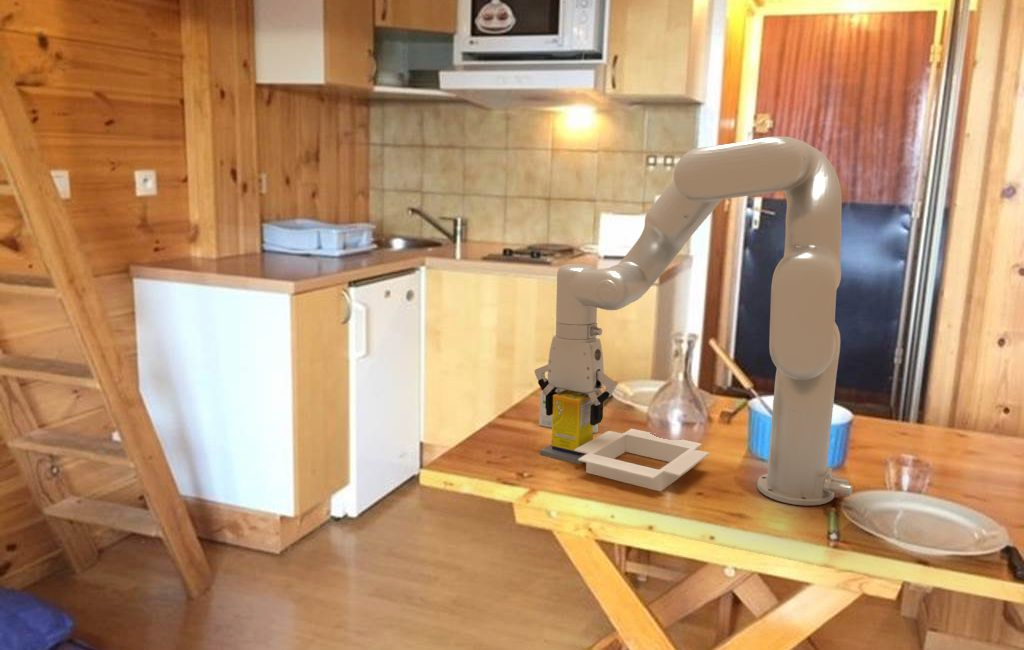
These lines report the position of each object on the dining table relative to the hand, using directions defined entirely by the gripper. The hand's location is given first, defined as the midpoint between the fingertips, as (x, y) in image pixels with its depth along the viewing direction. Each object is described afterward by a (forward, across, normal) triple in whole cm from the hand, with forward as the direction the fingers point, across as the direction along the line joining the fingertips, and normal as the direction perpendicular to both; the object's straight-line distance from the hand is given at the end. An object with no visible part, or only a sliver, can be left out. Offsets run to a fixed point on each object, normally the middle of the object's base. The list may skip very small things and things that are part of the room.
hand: (573, 418), depth 162 cm
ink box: (+7, +12, -14) cm, 20 cm away
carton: (+7, -14, 0) cm, 16 cm away
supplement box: (+6, 0, 0) cm, 6 cm away
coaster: (+7, 0, 0) cm, 7 cm away
